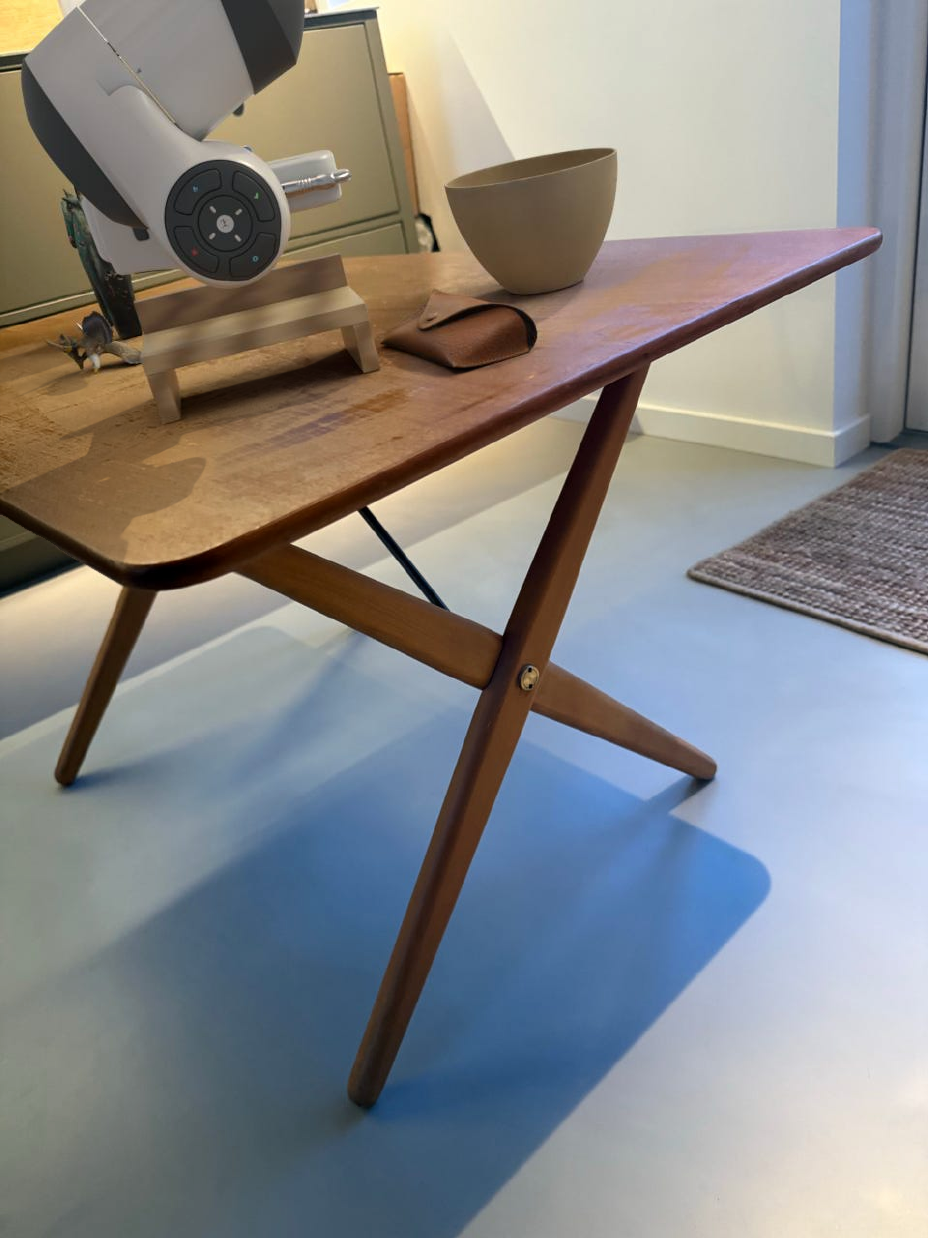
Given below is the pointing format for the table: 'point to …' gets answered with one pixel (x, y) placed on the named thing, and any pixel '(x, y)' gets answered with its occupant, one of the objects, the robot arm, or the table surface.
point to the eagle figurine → (96, 343)
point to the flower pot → (537, 216)
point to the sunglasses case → (464, 331)
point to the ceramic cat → (101, 271)
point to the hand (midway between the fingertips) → (213, 194)
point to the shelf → (249, 322)
